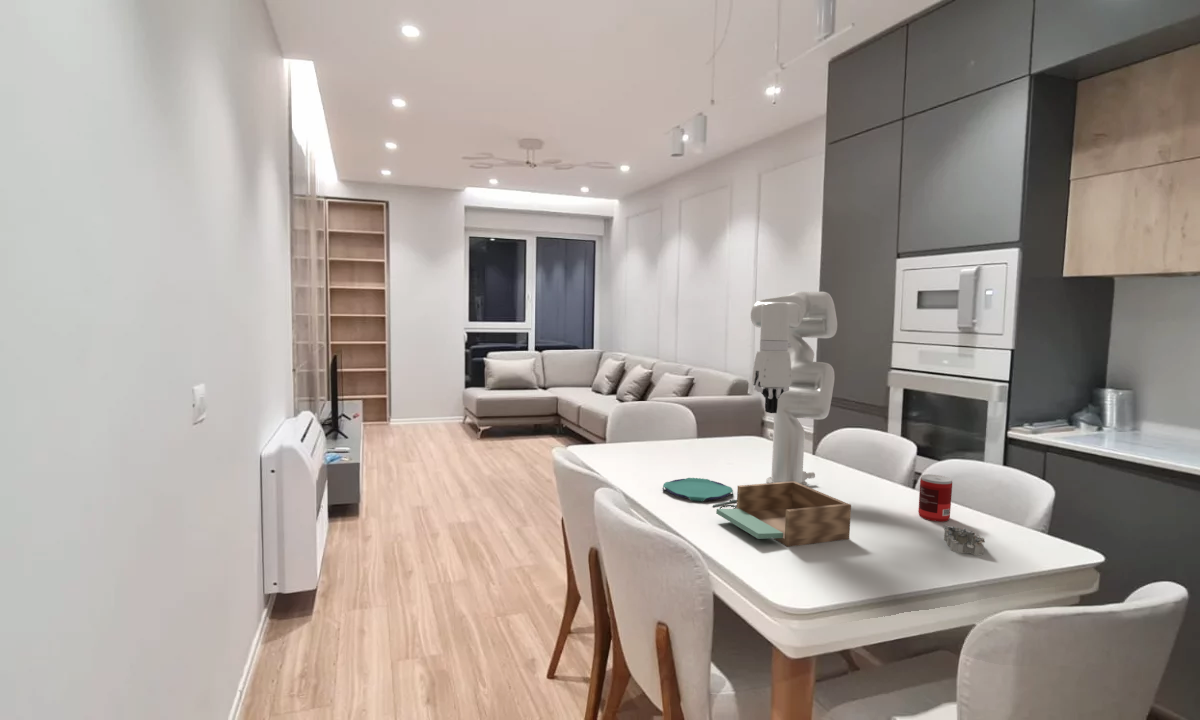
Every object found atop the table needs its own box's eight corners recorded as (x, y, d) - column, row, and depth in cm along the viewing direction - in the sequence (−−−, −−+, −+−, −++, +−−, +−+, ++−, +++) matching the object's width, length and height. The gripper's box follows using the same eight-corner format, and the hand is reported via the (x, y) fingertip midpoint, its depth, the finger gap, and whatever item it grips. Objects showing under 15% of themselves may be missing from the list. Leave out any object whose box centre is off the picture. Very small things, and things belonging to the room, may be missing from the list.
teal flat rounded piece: (698, 480, 201) (698, 474, 200) (771, 507, 176) (772, 499, 176) (651, 490, 189) (651, 483, 189) (723, 520, 165) (723, 511, 165)
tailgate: (739, 508, 163) (716, 508, 161) (783, 533, 145) (758, 533, 143) (739, 513, 163) (716, 513, 161) (782, 538, 146) (757, 538, 143)
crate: (792, 511, 171) (794, 481, 170) (849, 539, 150) (851, 504, 150) (736, 516, 165) (737, 485, 164) (787, 546, 144) (789, 511, 144)
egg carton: (985, 558, 141) (986, 541, 141) (948, 553, 144) (949, 536, 143) (976, 542, 151) (977, 526, 150) (941, 537, 154) (942, 521, 153)
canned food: (948, 515, 171) (951, 476, 170) (951, 524, 163) (954, 483, 163) (917, 511, 174) (919, 472, 173) (918, 519, 167) (921, 479, 166)
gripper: (788, 346, 177) (785, 409, 178) (743, 346, 171) (740, 411, 173) (805, 347, 169) (801, 413, 171) (758, 347, 164) (755, 415, 166)
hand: (770, 412), depth 172 cm, fingers closed
